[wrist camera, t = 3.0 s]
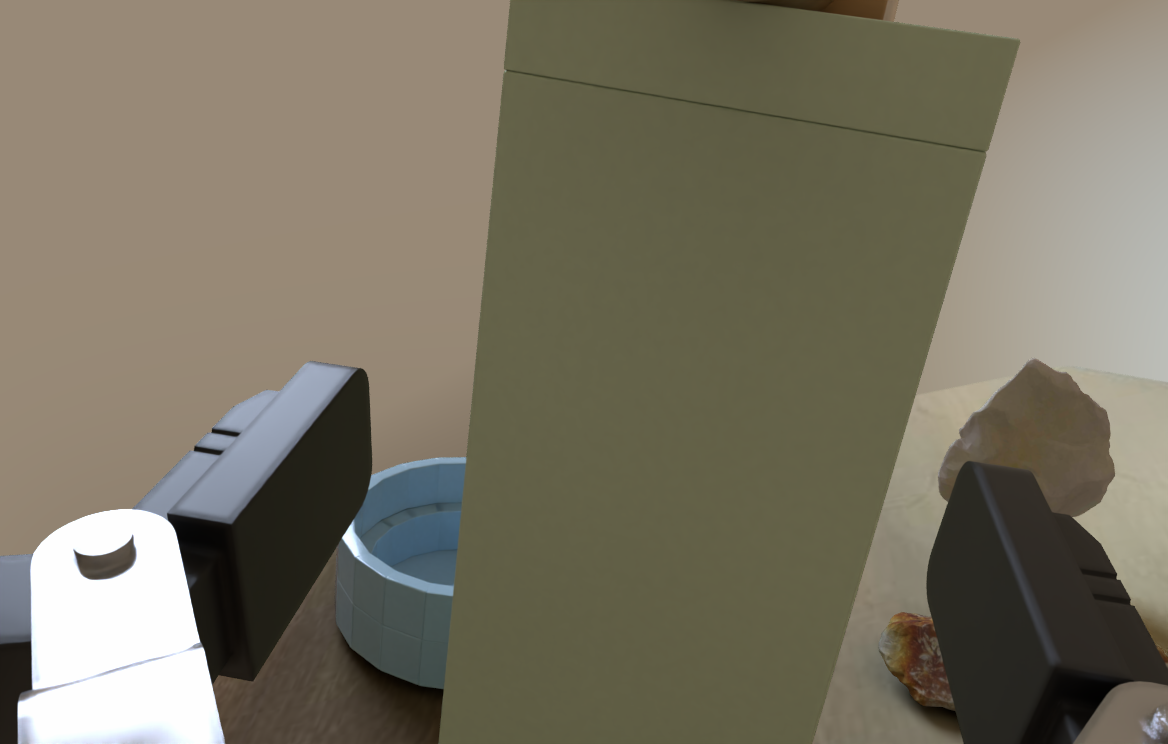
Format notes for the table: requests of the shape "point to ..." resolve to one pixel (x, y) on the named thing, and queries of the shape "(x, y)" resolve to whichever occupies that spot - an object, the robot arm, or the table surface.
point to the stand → (698, 357)
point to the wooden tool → (842, 7)
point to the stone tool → (1040, 439)
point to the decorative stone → (920, 659)
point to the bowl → (402, 569)
